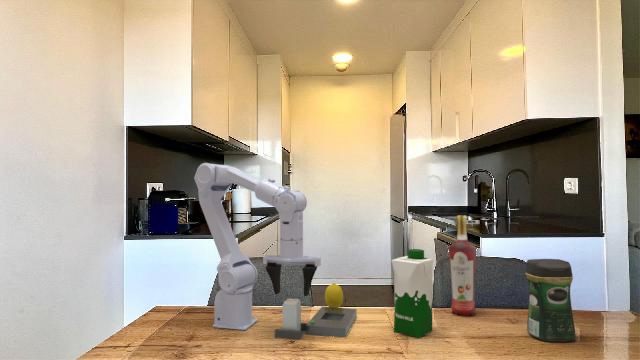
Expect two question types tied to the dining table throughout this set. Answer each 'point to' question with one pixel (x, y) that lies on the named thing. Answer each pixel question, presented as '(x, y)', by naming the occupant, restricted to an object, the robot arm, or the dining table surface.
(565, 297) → the coffee jar
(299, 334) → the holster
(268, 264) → the robot arm
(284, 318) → the plug
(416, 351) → the dining table surface
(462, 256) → the liquor
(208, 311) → the dining table surface
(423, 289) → the milk carton
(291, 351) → the dining table surface
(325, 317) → the port panel
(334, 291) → the lemon
